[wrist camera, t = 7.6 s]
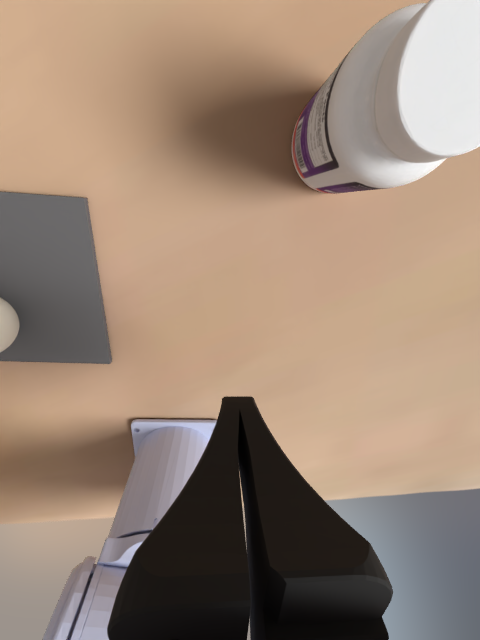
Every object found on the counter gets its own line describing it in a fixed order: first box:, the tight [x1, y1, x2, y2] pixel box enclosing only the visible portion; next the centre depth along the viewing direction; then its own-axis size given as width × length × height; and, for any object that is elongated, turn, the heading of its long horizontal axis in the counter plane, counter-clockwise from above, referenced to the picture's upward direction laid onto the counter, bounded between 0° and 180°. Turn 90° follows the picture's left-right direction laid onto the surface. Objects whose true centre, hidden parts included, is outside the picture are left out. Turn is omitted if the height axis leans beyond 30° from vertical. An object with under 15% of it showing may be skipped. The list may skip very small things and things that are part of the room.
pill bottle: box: [291, 0, 480, 193], centre depth 11 cm, size 5×5×10 cm
